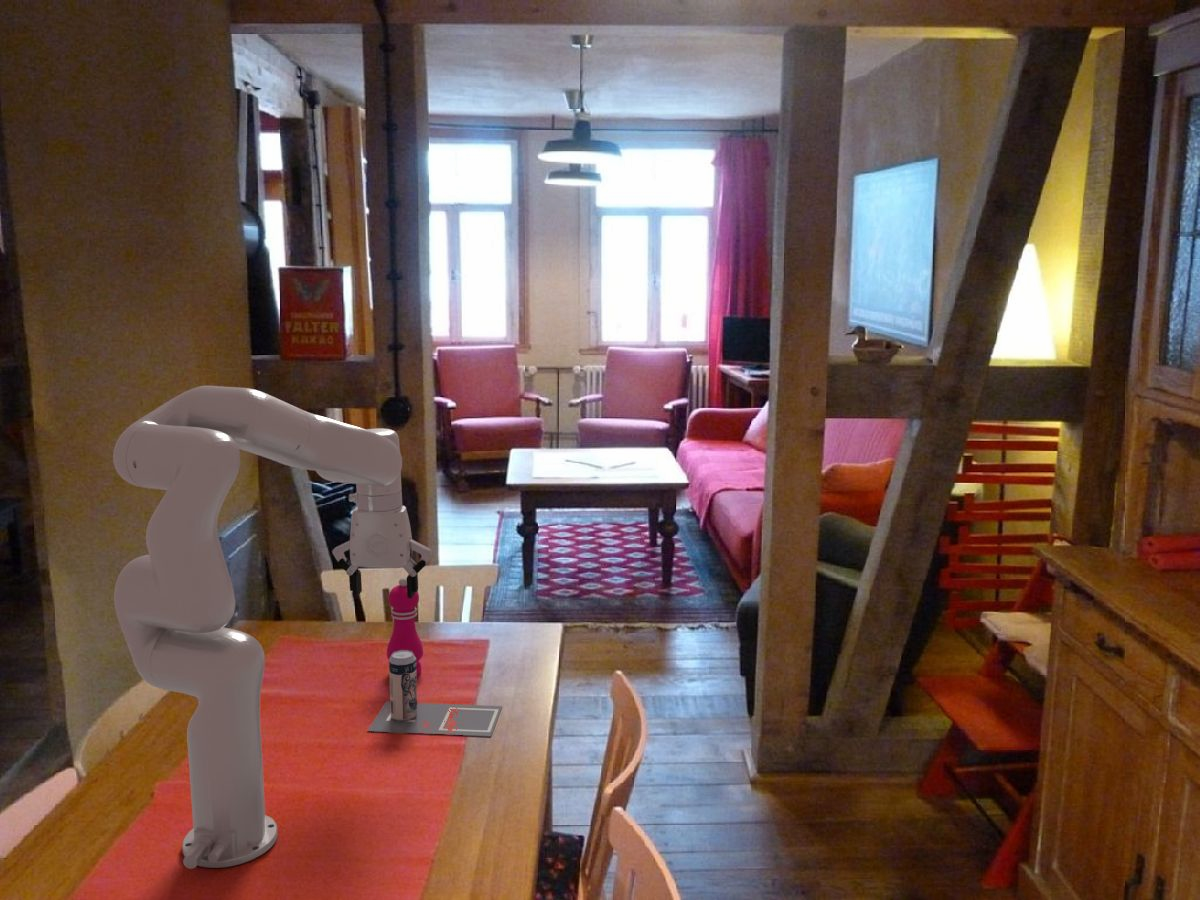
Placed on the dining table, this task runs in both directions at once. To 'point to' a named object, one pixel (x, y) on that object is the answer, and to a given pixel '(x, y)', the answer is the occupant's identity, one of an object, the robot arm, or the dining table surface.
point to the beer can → (403, 685)
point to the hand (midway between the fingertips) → (384, 595)
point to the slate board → (441, 720)
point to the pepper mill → (404, 623)
